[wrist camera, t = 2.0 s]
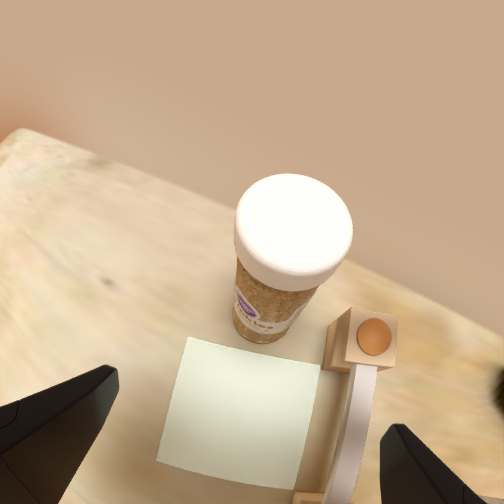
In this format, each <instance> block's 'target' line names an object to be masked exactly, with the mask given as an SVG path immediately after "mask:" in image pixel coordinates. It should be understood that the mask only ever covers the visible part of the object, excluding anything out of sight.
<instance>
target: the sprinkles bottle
mask: <svg viewBox="0 0 504 504" xmlns="http://www.w3.org/2000/svg"><path fill="white" fill-rule="evenodd" d="M352 236H353V225H352V221H351V217H350V214H349V212H348V209H347V207H346V206H345V204H344V202H343V201H342V200H341V199H340V197H339V196H338V195H337V194H336V193H335V192H334V191H333V190H332V189H330V188H329V187H328V186H326V185H325V184H323V183H321V182H319V181H317V180H315V179H313V178H310V177H307V176H302V175H297V174H278V175H273V176H269V177H266V178H264V179H261V180H259V181H258V182H256V183H255V184H253V185H252V186H251V187H250V188H249V189H248V190H247V191H246V192H245V193H244V194H243V196H242V197H241V199H240V201H239V203H238V206H237V209H236V214H235V222H234V246H235V250H236V253H237V272H236V279H235V286H234V308H233V321H234V324H235V326H236V329H237V330H238V332H239V333H240V334H241V335H242V336H243V337H245V338H246V339H247V340H249V341H252V342H255V343H260V344H264V343H271V342H274V341H276V340H278V339H279V338H281V337H282V336H284V335H285V333H286V332H287V330H288V329H289V327H290V325H291V324H292V323H293V322H294V321H295V319H296V318H297V317H298V315H299V314H300V313H301V311H302V310H303V309H304V307H305V306H306V305H307V303H308V302H309V301H310V299H311V298H312V296H313V295H314V293H315V292H316V289H317V288H318V287H319V285H321V284H322V283H324V282H325V281H326V280H327V279H328V278H330V277H331V276H332V274H333V273H334V272H335V271H336V269H337V268H338V266H339V265H340V264H341V262H342V261H343V259H344V258H345V256H346V254H347V252H348V250H349V248H350V245H351V242H352Z"/></svg>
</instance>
